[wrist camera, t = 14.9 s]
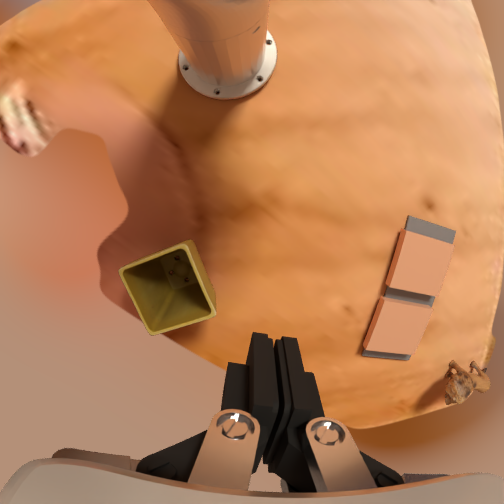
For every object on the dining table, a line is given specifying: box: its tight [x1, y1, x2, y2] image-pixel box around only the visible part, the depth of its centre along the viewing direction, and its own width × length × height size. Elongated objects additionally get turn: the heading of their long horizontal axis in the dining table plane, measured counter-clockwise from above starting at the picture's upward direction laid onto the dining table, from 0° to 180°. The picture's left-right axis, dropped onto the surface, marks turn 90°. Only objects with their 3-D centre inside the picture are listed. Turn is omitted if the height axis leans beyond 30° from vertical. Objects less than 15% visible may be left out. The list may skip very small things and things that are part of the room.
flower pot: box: [118, 240, 216, 336], centre depth 38 cm, size 9×9×9 cm
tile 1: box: [363, 296, 433, 355], centre depth 42 cm, size 8×2×9 cm
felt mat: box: [362, 216, 456, 360], centre depth 42 cm, size 22×9×1 cm, turn 168°
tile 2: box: [385, 229, 455, 297], centre depth 40 cm, size 8×2×9 cm
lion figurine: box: [445, 360, 490, 405], centre depth 42 cm, size 15×5×9 cm, turn 84°
